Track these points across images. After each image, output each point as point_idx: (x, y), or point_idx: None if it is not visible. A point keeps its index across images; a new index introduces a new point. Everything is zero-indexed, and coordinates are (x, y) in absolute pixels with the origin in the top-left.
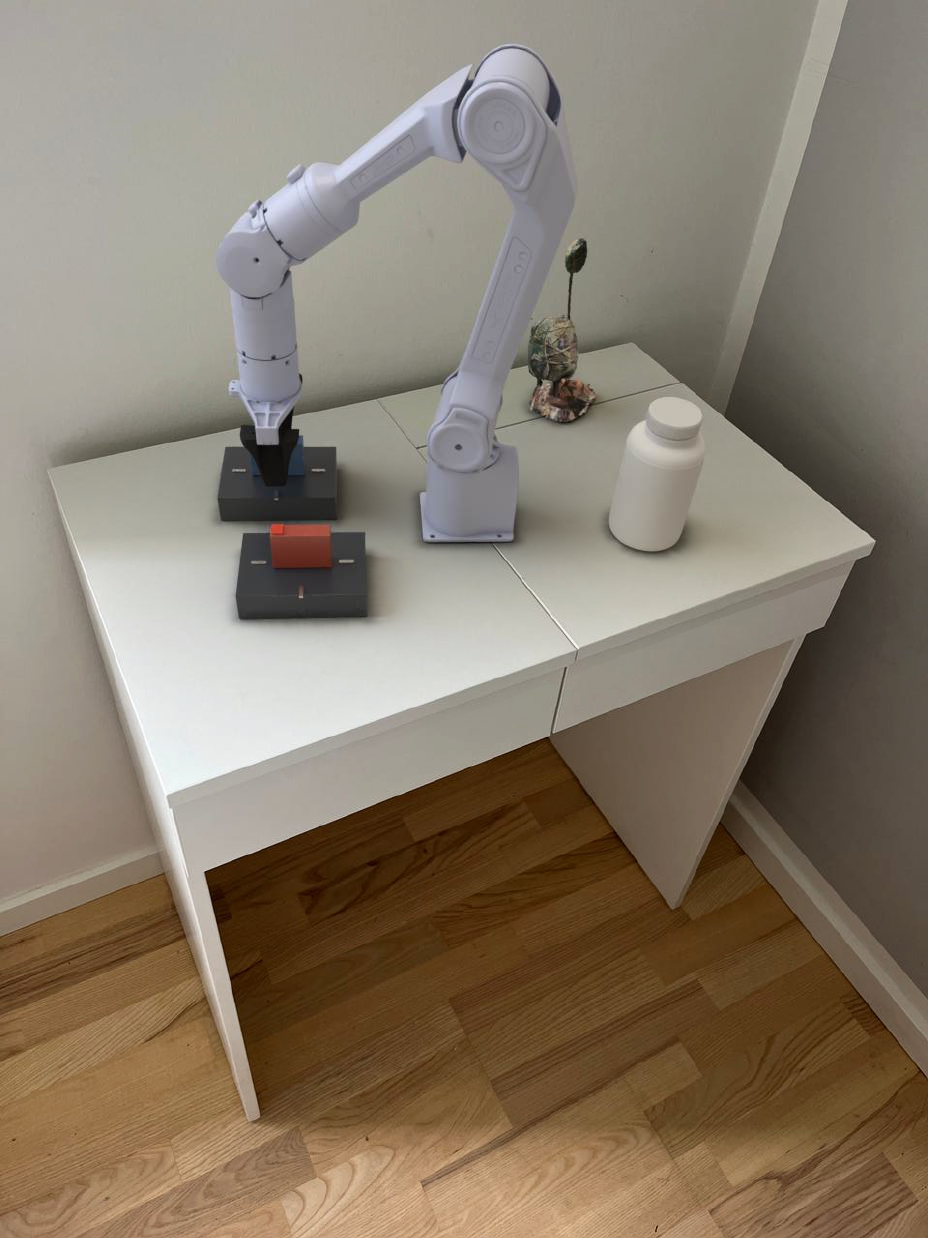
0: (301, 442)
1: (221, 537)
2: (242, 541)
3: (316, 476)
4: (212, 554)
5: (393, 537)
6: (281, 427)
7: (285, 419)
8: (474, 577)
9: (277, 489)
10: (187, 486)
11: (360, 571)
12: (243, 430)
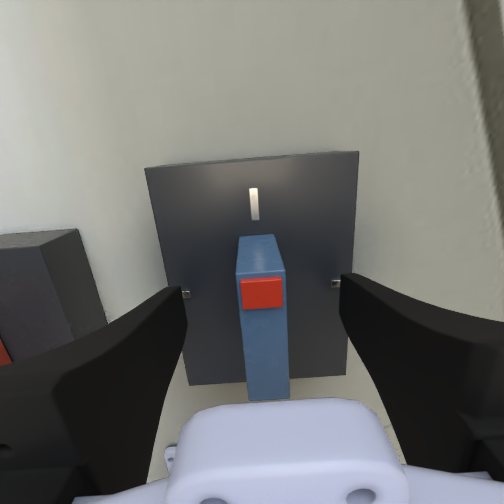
0: (255, 398)
1: (116, 175)
2: (11, 249)
3: None
4: (63, 166)
5: (171, 415)
6: (356, 326)
7: (367, 353)
8: None
9: (197, 292)
10: (273, 63)
11: None
12: (4, 408)
